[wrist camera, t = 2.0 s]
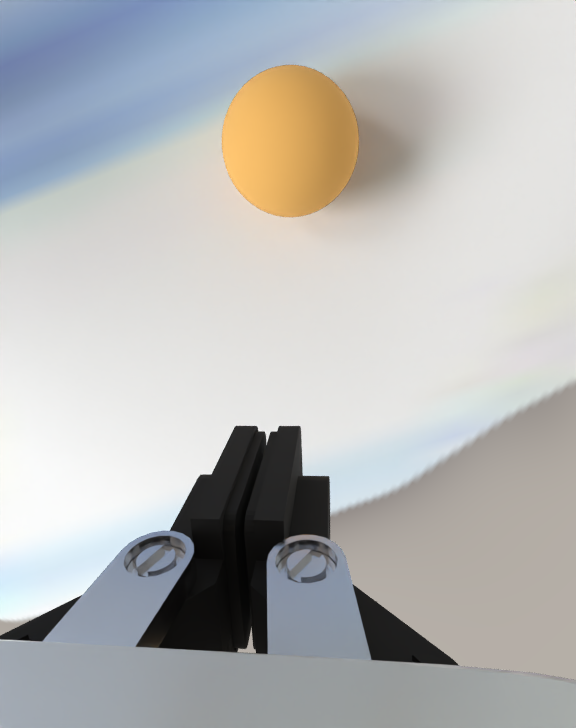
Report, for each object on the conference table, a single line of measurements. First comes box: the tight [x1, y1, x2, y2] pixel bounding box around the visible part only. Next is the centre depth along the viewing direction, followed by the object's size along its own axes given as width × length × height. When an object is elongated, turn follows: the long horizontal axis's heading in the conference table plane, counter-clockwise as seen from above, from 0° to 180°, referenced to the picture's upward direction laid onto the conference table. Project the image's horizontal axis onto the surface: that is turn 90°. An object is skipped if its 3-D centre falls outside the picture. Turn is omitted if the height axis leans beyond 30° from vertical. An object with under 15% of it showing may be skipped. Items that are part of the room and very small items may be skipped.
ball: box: [222, 65, 359, 217], centre depth 20 cm, size 6×6×6 cm
